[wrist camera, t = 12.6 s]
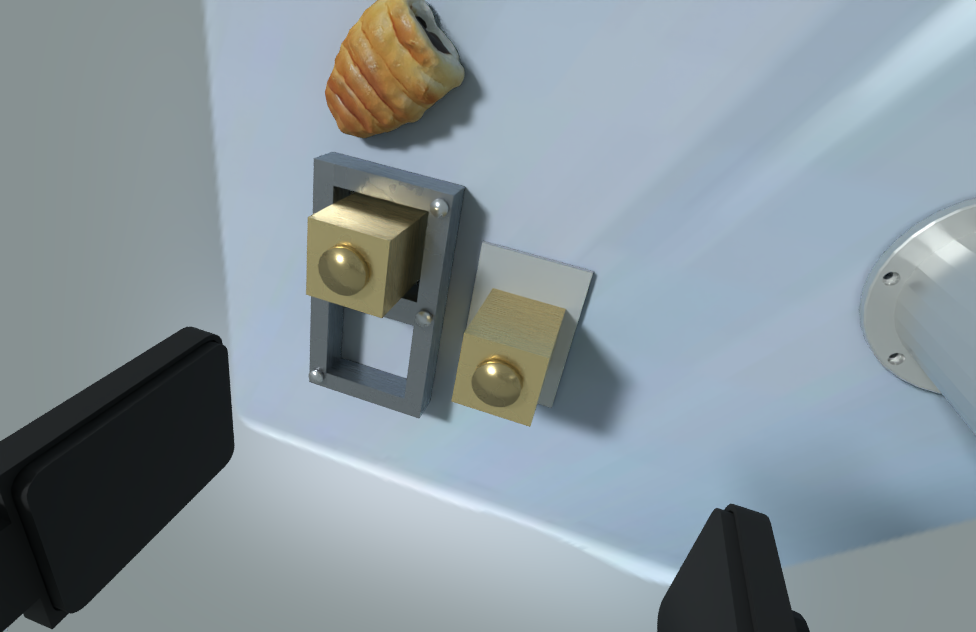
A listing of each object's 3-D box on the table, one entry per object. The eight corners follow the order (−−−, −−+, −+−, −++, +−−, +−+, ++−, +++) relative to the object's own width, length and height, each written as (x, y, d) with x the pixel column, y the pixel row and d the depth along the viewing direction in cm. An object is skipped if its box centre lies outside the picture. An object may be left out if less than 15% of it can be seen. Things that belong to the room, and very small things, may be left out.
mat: (593, 271, 38) (592, 273, 37) (552, 405, 43) (551, 408, 43) (483, 240, 39) (482, 242, 38) (458, 375, 45) (456, 377, 44)
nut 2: (565, 308, 39) (548, 363, 32) (548, 370, 42) (528, 432, 35) (492, 287, 40) (461, 337, 33) (480, 349, 42) (448, 406, 36)
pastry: (377, 159, 38) (351, 170, 35) (315, 76, 37) (282, 79, 34) (477, 72, 34) (458, 76, 31) (411, -26, 33) (384, -33, 29)
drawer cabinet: (464, 186, 37) (451, 196, 35) (430, 400, 47) (417, 421, 44) (332, 151, 39) (310, 159, 36) (324, 366, 48) (306, 384, 46)
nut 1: (430, 209, 39) (385, 244, 32) (421, 277, 41) (377, 322, 35) (360, 189, 40) (302, 219, 33) (355, 257, 42) (301, 298, 36)
